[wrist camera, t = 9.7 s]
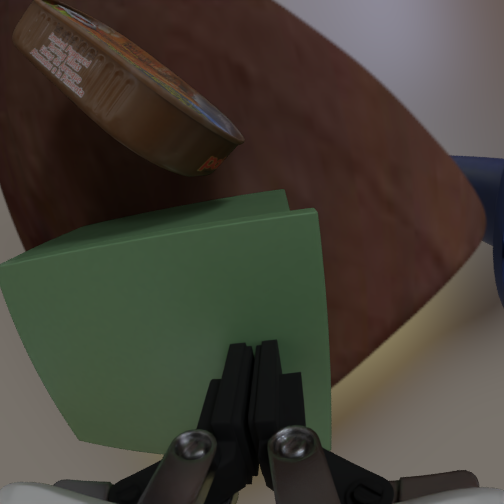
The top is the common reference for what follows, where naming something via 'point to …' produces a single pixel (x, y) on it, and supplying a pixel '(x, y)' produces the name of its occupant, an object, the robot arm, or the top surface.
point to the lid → (171, 322)
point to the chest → (168, 220)
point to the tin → (125, 90)
